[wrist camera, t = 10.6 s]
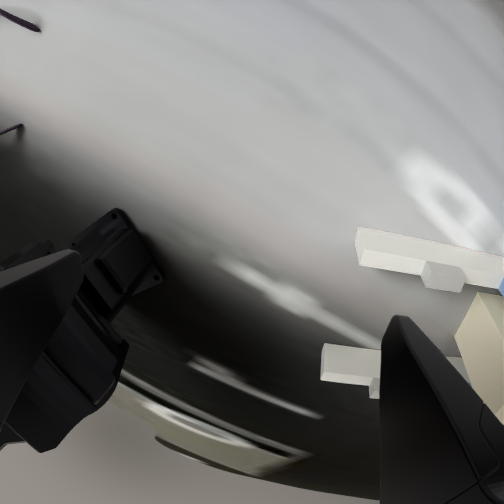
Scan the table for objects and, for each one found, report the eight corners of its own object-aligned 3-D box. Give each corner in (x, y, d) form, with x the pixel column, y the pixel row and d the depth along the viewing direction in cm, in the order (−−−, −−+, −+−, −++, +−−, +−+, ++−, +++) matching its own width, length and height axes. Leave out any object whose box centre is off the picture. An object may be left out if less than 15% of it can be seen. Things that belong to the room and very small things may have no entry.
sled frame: (321, 351, 25) (319, 401, 20) (357, 226, 19) (368, 268, 15) (492, 366, 23) (507, 406, 18) (548, 268, 17) (578, 304, 13)
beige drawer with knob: (453, 336, 22) (487, 441, 13) (477, 291, 20) (529, 397, 11) (484, 339, 21) (521, 436, 13) (508, 296, 19) (561, 393, 10)
